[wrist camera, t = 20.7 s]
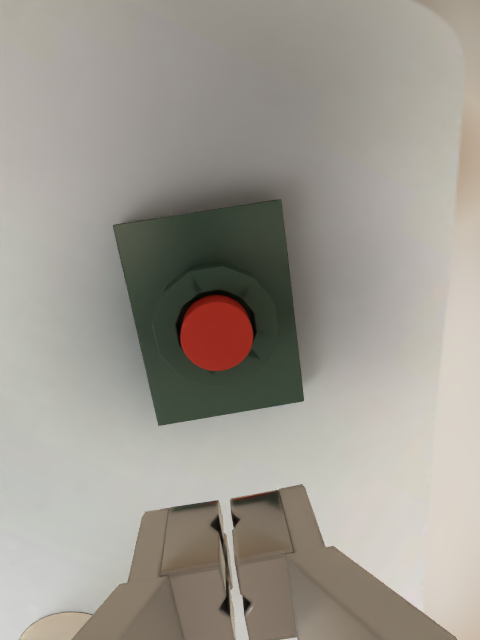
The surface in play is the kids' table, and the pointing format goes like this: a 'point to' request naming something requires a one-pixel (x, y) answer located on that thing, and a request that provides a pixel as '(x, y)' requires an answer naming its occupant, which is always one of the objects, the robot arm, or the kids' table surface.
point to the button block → (213, 279)
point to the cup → (56, 627)
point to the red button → (216, 333)
